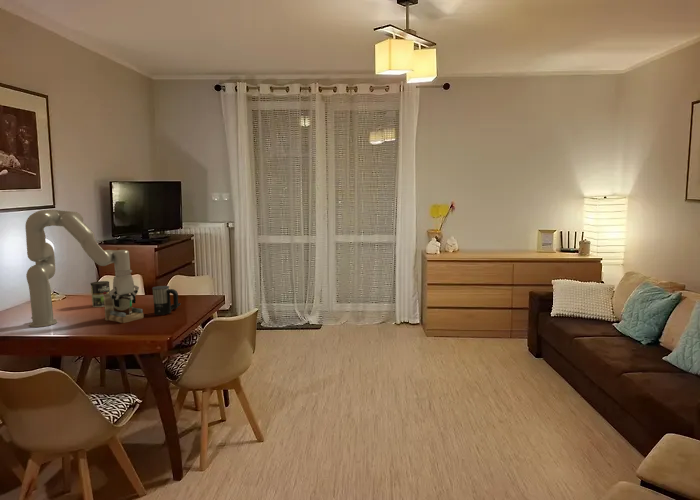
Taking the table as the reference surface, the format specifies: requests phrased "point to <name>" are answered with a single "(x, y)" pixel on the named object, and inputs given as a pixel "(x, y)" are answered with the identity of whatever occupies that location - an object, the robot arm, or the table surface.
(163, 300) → the milk frother
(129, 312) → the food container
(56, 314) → the table surface
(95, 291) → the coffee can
